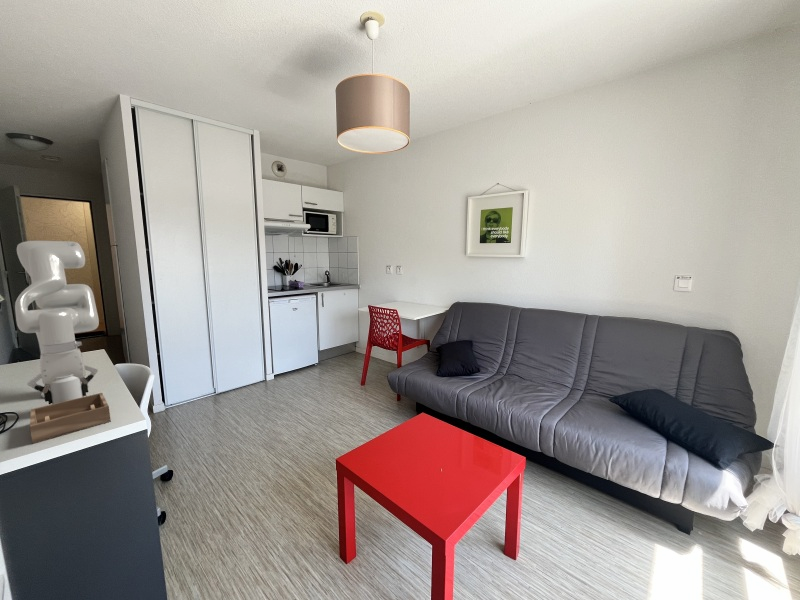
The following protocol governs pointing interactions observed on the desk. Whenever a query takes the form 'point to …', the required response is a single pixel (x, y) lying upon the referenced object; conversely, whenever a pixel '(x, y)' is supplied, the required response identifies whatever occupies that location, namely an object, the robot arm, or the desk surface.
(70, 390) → the can
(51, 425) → the walnut box
